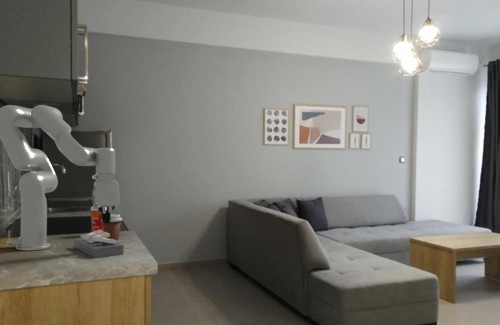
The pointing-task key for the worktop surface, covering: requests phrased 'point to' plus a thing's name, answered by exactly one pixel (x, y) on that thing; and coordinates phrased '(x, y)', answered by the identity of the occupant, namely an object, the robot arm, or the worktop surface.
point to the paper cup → (96, 219)
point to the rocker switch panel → (98, 248)
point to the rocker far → (91, 234)
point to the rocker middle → (103, 235)
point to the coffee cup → (113, 227)
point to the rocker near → (104, 240)
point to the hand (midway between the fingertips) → (106, 222)
